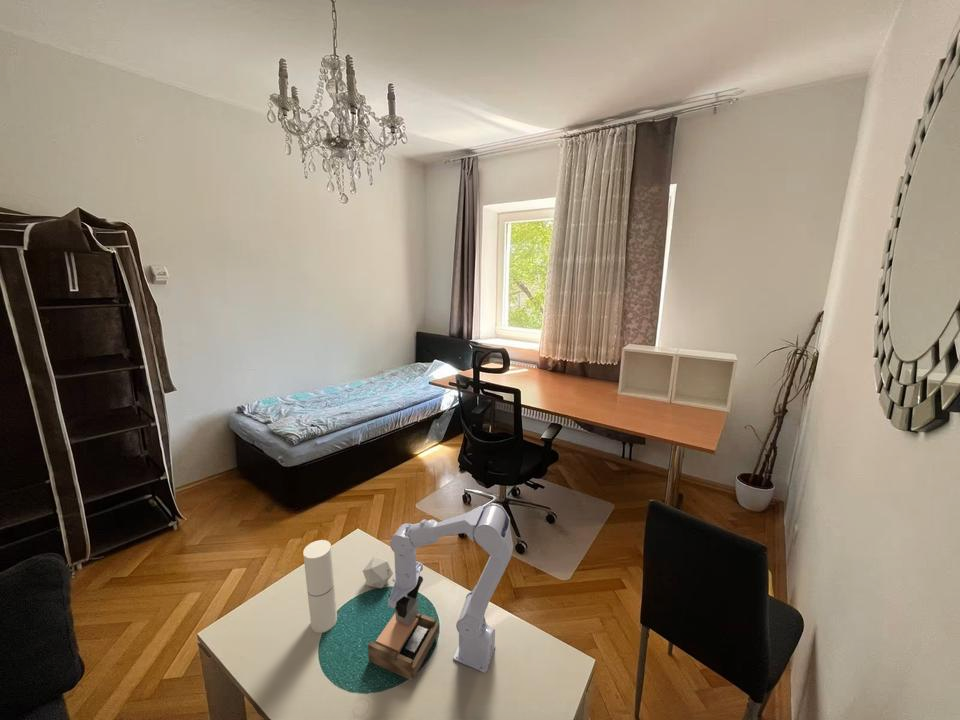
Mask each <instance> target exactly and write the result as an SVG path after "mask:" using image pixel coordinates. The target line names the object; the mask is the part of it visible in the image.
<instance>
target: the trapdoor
mask: <svg viewBox="0 0 960 720" xmlns="http://www.w3.org/2000/svg"><path fill="white" fill-rule="evenodd" d="M417 622H418V618H416V617H415V619H414V620H413V622H412V623H411V625H410V626H408V625H406V624H403V623H401V622H399V621H396V613H395V612H394V614H393V615H392V617H391V618H390V620H389V621H388V623H387V624H386V625H385V627H384V628H383V630H382V631H381V633H380V634H379V636H378V637H377V638H376V639H375V643H376V644H378V645H380V646H383V647H385V648H387V649H389V650H392V651H394V652H398V653H399V654H400V652H401V650H402V649H403V647H404V656H407V657H409V658H411V659H412V658H413V659H414V658H415V657H416V655H417V653H418V651H419V650H420V648H421V646H422V644H423V642H424V641H425V639H426V637H427V635H428V629H426V628H423V627H421V626H418V627H417V628H416V630H413V629H414V627H415V626H416V624H417ZM413 631H414V632H413ZM411 634H412V635H411ZM410 635H411V636H410ZM409 637H410V639H409ZM408 639H409V640H408ZM407 640H408V641H407ZM406 642H407V643H406ZM405 644H406V645H405Z"/></svg>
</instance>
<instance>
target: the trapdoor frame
mask: <svg viewBox="0 0 960 720" xmlns="http://www.w3.org/2000/svg"><path fill="white" fill-rule="evenodd" d="M416 618H418V622H417V624H416V626H415V627H414V630H413V631H415V630H416V628H417V627H418V626H421V627H423V628H426V629H428V635H427V637H426V639H425V641H424V642H423V644H422V646H421V648H420V650H419V651H418V653H417V655H416V657H415V658H413V659H412V658H411V657H409V656H407V655H403V654H401V653H400V652H399V653H398V652H394V651H392V650H389V649H387V648H385V647H383V646H380V645H378V644H376V642H373V641H372V640H370V641H369V643H367V650H368V653H367V654H368V662H371V663H372V664H375V665H377V666H379V667H381V668H383V669H385V670H387V671H390V672H391V673H393V674H397V675H399V676H401V677H403V678H405V679H407V680H409V681H412V680H413V678H416V675H417V674H418V672H419V669H420V668H421V666H422V664H423V663H424V660H425V659H426V657H427V656H428V654H429V651H430V650H431V648H432V646H433V644H434V642H435V640H436V638H437V636H439V635H438V634H439V633H440V623H439V622H437V621H436V619H435V618H433V617H431V616H427V615H425V614H424V613H422V612H421V613H420V612H418V614H417V615H416Z"/></svg>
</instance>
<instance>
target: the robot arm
mask: <svg viewBox="0 0 960 720" xmlns="http://www.w3.org/2000/svg"><path fill="white" fill-rule="evenodd" d="M459 534H466V535H467V537H468V538H469V539H470V541H471V542H475V541H476V543H477V544H478V545H479V547H481V548H482V549H483V550H484V551H485V552H486V553H487V554H488V555H489V557H488V560H487V562H486V564H485V566H484V568H483V571H482V572H481V574H480V577H479V579H478V581H477V582H476V584H475V586H474V587H473V589H472V590H471V591H470V592H468V593H467V594H466V596H465V600H464V603H463V607H462V609H461V612H460V615H459V617H458V619H457V621H456V624H455V627H456V631H457V632H458V646H457V648H456V650H455V653H454V654H453V658H452V659H453V660H454V661H456V662H459V663H461V664H463V665H466V666H468V667H470V668H473V669H475V670H477V671H480V672H482V673H487V671H488V669H489V666H490V662H491V661H492V658H493V654H494V652H495V649H496V629H495V628H493V627H491V625H489V624H488V623H487V621H486V617H485V615H486V610H487V608H488V606H489V603H490V601H491V599H492V596H493V595H494V593H495V591H496V589H497V587H498V585H499V583H500V581H501V579H502V578H503V577H502V576H503V575H504V573H505V571H506V568H507V566H508V564H509V563H510V561H511V559H512V556H513V550H514V543H513V536H512V530H511V517H510V516H509V515H508V513H507V511H506V509H505V508H504V507H503V506H502V505H500V504H498V503H493V502H492V503H488V504H486V505H480V506H477V507H475V508H473V509H471V510H469V511H468V512H464V513H462V514H458V515H457V516H453V517H451V518H450V517H449V518H447V519H445V520H442V521H437V520H435V519H434V518H433V519H428V520H427V519H422V520H421V521H420V522H417V523H414V524H413V523H409V522H408V523H403V524H401V525H400V526H399V528H397V530H396V532H395V533H394V534H393V536H392V537H391V539H390V542H389V546H390V549H391V550H392V552H393V553H394V576H392V582H393V586H392V589H391V592H390V593H389V595H388V599H387V607H389V608H391V609H394V610H395V608H396V610H397V613H398V616H400V617H403V618H405V616H406V613H407V605H408V602H409V600H410V599H409V598H407V597H405V595H407V596H409V597H412V598H415V599H417V598H418V594H419V590H420V587H421V585H422V583H423V581H424V578H423V576H421V575H420V574H421V572H422V571H423V570H424V569H423V568H424V564H423V563H422V562H420V561H419V562H418V561H417V549H418V548H420V547H425V546H429V545H433V544H436V543H438V542H439V540H440V538H441V537H442V538H443V537H447V536H454V535H459Z"/></svg>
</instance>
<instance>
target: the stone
mask: <svg viewBox="0 0 960 720" xmlns="http://www.w3.org/2000/svg"><path fill="white" fill-rule="evenodd" d="M405 597H407V598H409V599H410V600H409V602H408V605H407V613H406V616H405V618H403V617H400V616H398V613H397V610H396V608H394V614H395V613H396V621H399V622H401V623H403V624H406V625H408V626H410V625H411V623H412V622H413V620H414V619H415V617H416V615H417V614H418V613H419V600H418V599H417V598H416V599H415V598H412V597H409V596H407V594H406V595H405Z"/></svg>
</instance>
